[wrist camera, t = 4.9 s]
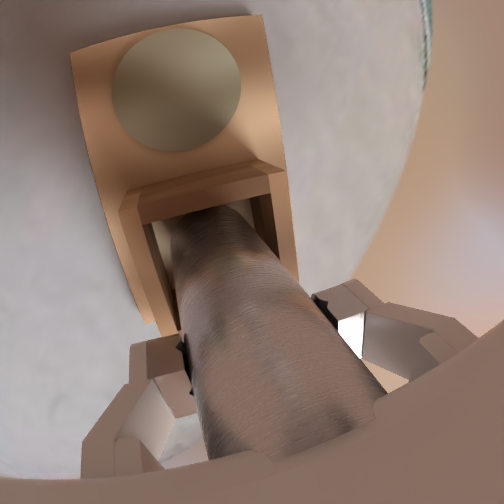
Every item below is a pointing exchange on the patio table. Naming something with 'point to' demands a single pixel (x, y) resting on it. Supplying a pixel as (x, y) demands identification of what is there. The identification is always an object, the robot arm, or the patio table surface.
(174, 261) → the peg
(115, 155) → the pocket board
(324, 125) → the patio table surface
